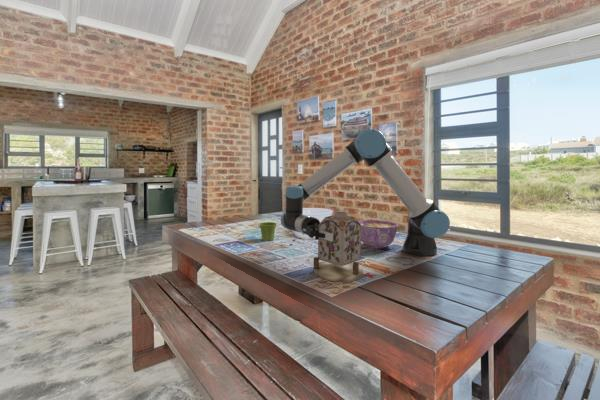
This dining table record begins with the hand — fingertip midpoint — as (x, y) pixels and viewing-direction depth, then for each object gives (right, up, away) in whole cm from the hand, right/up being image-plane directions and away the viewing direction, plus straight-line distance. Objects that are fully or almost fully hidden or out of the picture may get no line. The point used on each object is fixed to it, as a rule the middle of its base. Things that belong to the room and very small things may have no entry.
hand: (345, 235), depth 116 cm
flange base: (-2, -15, +4) cm, 15 cm away
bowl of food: (+21, -11, +44) cm, 50 cm away
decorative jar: (-2, -10, +4) cm, 11 cm away
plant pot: (-34, -9, +55) cm, 65 cm away
